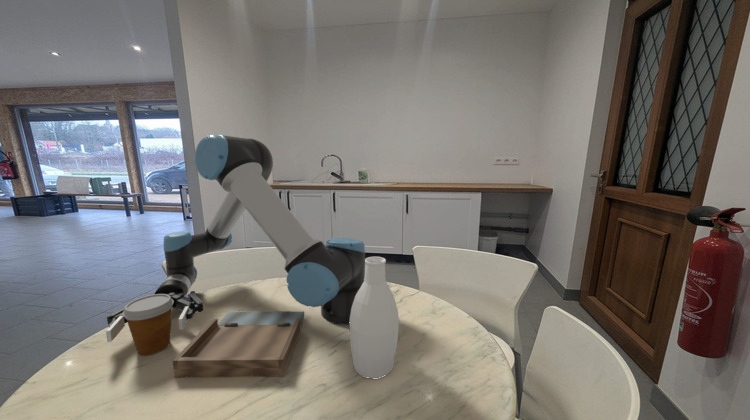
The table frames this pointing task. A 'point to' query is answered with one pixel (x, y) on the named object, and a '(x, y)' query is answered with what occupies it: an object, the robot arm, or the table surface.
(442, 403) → the table surface
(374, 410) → the table surface
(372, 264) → the bottle
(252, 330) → the shallow wooden crate
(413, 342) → the table surface
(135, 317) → the disposable coffee cup
